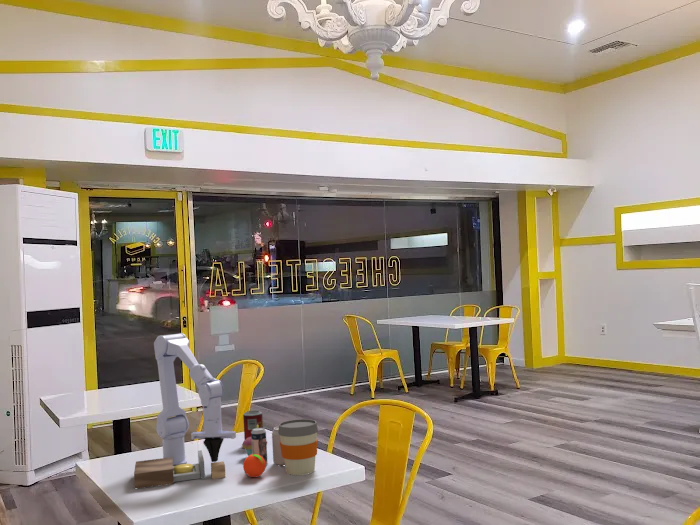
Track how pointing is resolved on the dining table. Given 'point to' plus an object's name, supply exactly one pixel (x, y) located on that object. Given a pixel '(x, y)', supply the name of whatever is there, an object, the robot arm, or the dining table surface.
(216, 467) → the block
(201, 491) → the dining table surface
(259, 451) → the beer can
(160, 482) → the housing
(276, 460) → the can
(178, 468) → the yellow flat dome
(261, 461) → the clementine
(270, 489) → the dining table surface
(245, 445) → the cupcake
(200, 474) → the tray
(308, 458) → the reusable coffee cup
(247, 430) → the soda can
